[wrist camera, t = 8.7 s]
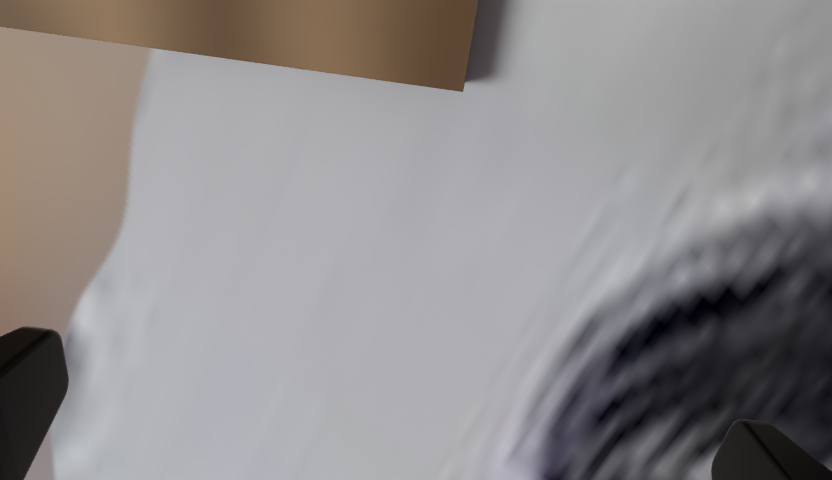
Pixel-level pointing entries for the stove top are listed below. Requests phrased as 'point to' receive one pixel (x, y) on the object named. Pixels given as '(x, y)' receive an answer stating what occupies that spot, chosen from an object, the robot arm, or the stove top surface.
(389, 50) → the holder board
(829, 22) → the stove top surface
